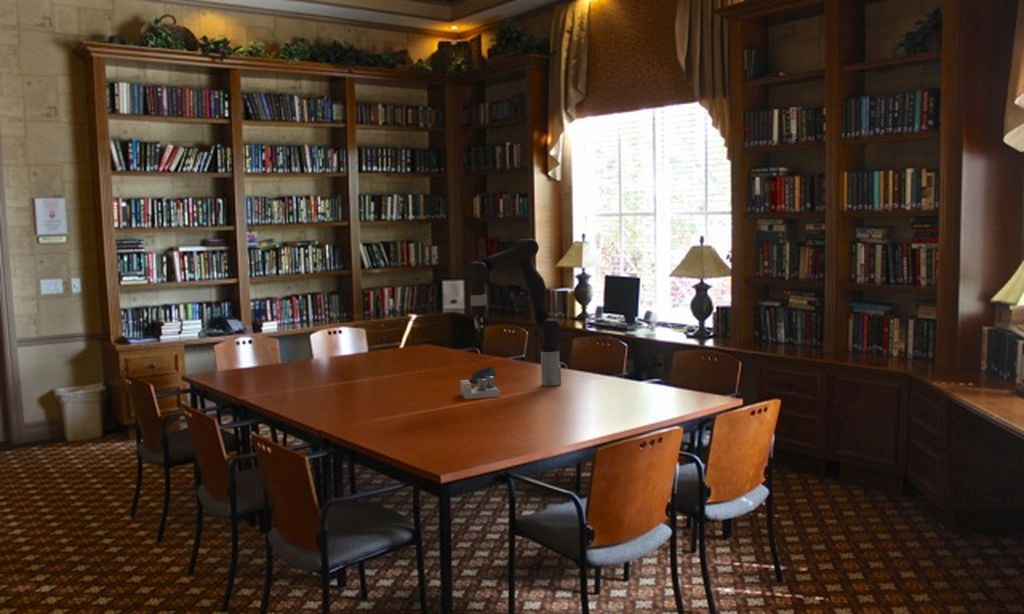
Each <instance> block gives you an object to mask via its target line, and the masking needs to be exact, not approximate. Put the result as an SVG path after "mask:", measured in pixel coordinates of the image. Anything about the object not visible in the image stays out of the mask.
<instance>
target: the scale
mask: <svg viewBox="0 0 1024 614" xmlns="http://www.w3.org/2000/svg"><path fill="white" fill-rule="evenodd" d="M460 395H461V396H462V398H463V399H464V400H474V399H486V398H487V399H488V398H497V397H498V398H500V397H501V391H500V390H499V388H498V387H496V386H495V387H493V388H487V390H484V391H478V390H477V386H474V387H473V388H472V384H471V383H470V382H469V379H461V380H460Z"/></svg>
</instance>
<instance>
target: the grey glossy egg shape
mask: <svg viewBox="0 0 1024 614" xmlns="http://www.w3.org/2000/svg"><path fill="white" fill-rule="evenodd" d="M485 379H486V384H487V388H493V387H496V386H495V385H496V384H495V379H494V376H486V377H485Z"/></svg>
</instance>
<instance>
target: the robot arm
mask: <svg viewBox="0 0 1024 614" xmlns="http://www.w3.org/2000/svg"><path fill="white" fill-rule="evenodd" d="M539 250H540V249H539V243H538V241H536V240H535V239H534V238H533V239H532V238H523V239H522V238H521V239H517V240H516V241H515V242H514V247H513V248H510V249H507V250H504V251H503V250H502V251H500V252H496V253H495V254H491V255H489V256H487V257H485V258H481V259H476V260H475V261H472V262H470V263H469V264H468V265H467V267H466V273H467V274H468V275H469V276H470V277H473V278H474V282H472V283H471V284H470V314H471V315H473V318H474V319H473V321H474V329H475V337H476V338H478V339H479V340H484V339H485V335H484V334H485V330H486V326H485V317H484V316H483V315H486V314H488V310H487V307H488V306H487V305H488V304H487V303H488V302H487V295H486V284H487V279H488V275H489V273H488V272H493V271H495V270H498V269H500V268H503V267H504V266H507V265H509V264H512V263H515V262H517V261H518V264H519V266H520V269H521V272H522V276H523V279H524V282H525V286H526V290H527V293H528V296H529V299H530V303H531V307H532V309H533V314H534V319H535V325H536V329H537V332H538V334H539V335H540V336H542V337H543V338H544V339H543V340H544V341H543V343H542V344H541V345H540V368H541V369H540V370H541V371H540V372H541V374H540V375H541V385H542V386H544V387H554V386H561V385H562V370H561V364H560V346H561V326H560V325H561V324H560V323H559V322H558V320H556V319H551V318H550V315H549V312H548V307H547V302H548V289H547V287H546V283H545V280H544V278H543V276H542V275H541V274H540V273H539V270H537V268H536V267H535V265H534V263H533V259H532V258H533V257H535V256H536V255H537V254H538V252H539Z"/></svg>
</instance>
